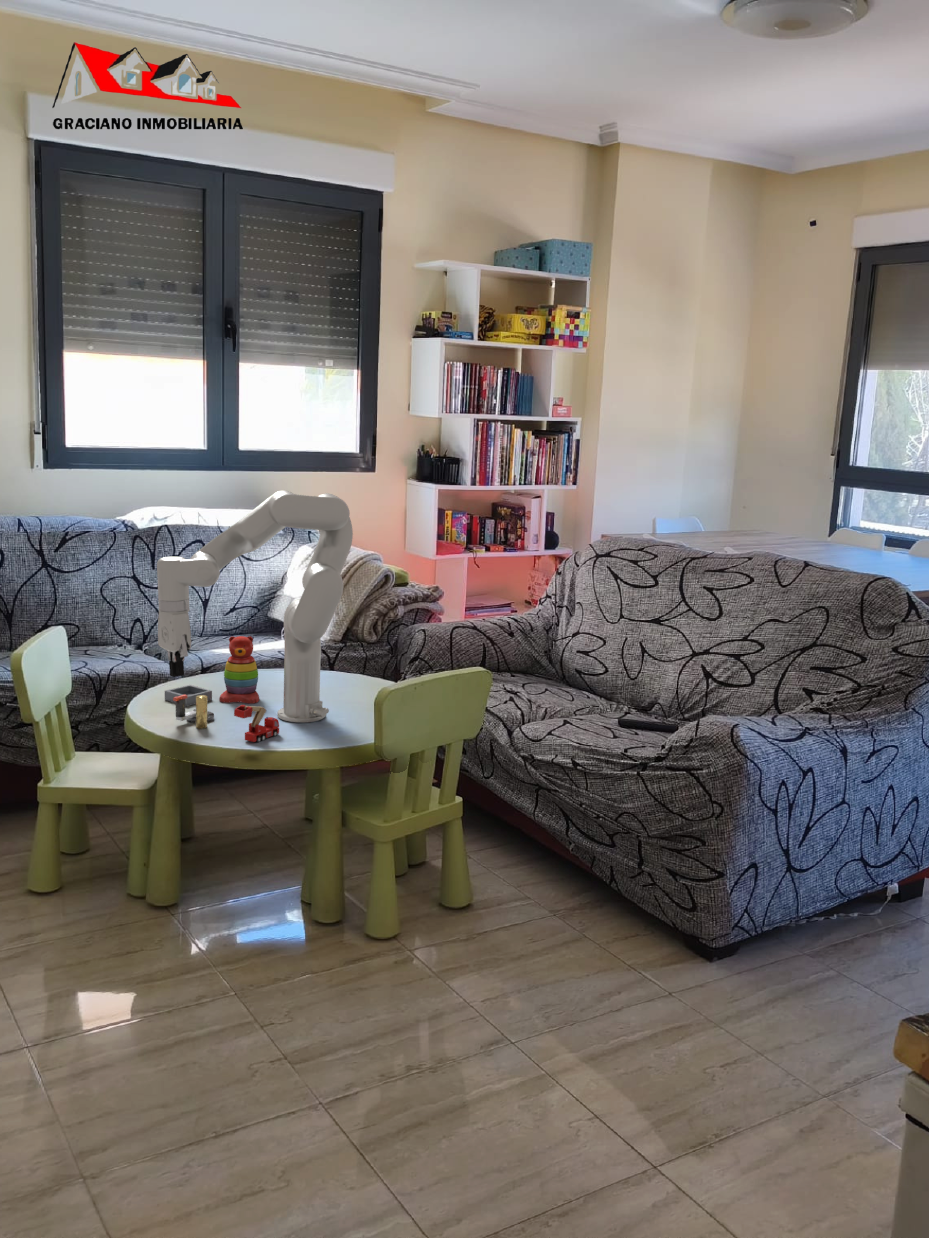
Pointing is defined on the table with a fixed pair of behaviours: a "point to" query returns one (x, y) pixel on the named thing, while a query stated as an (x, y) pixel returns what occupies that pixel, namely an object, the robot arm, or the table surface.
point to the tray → (189, 691)
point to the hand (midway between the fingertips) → (177, 675)
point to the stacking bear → (240, 672)
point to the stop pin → (201, 711)
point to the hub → (209, 717)
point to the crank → (182, 709)
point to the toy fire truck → (257, 723)
